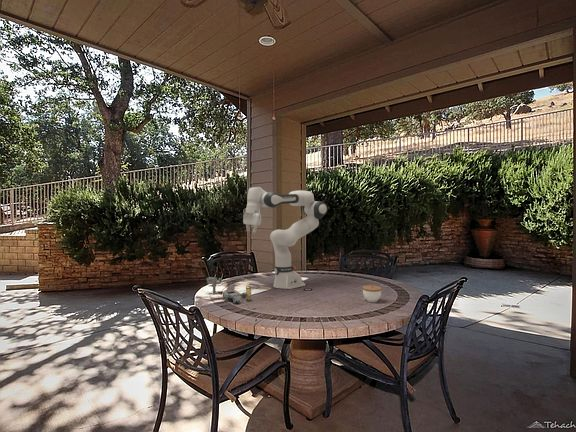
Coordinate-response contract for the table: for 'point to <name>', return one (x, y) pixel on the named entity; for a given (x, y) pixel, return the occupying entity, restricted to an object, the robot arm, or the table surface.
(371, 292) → the lidded jar
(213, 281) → the mechanical component
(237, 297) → the chain ends
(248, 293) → the brass pin
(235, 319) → the table surface
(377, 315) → the table surface
